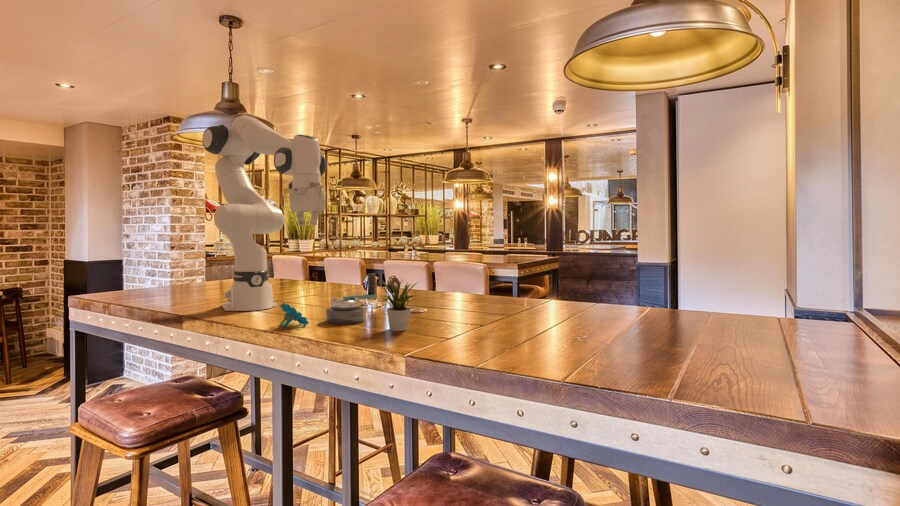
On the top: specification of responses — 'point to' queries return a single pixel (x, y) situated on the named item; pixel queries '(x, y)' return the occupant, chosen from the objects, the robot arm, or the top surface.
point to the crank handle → (354, 297)
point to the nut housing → (345, 316)
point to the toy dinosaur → (292, 315)
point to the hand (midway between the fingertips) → (307, 225)
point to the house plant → (398, 307)
